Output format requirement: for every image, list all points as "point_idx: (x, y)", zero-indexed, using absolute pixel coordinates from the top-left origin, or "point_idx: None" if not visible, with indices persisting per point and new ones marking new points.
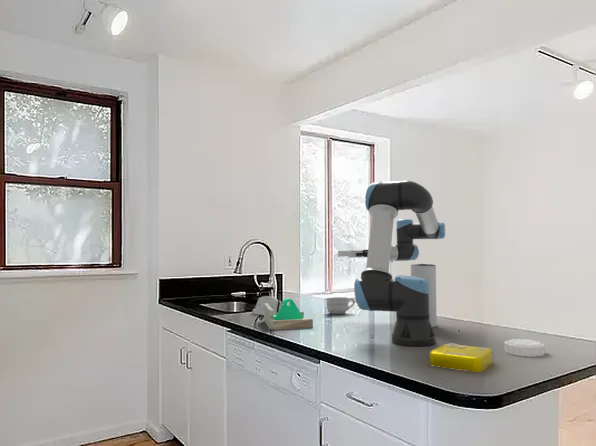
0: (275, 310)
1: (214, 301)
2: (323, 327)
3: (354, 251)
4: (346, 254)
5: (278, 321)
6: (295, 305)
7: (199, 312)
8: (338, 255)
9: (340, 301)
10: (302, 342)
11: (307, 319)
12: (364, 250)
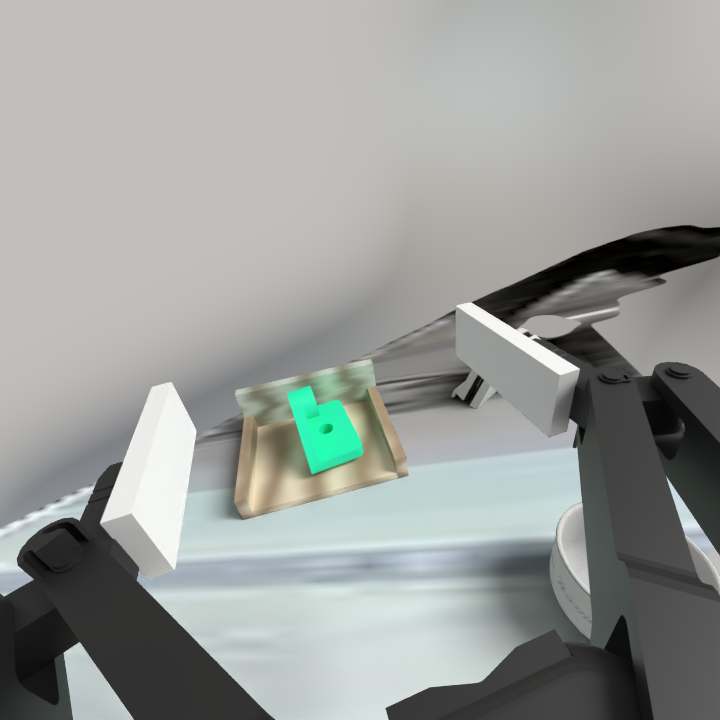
0: (464, 389)
1: (663, 272)
2: (236, 554)
3: (136, 429)
4: (505, 380)
5: (243, 427)
6: (296, 424)
7: (484, 297)
8: (456, 345)
9: (571, 586)
10: (53, 514)
11: (237, 487)
12: (34, 549)
